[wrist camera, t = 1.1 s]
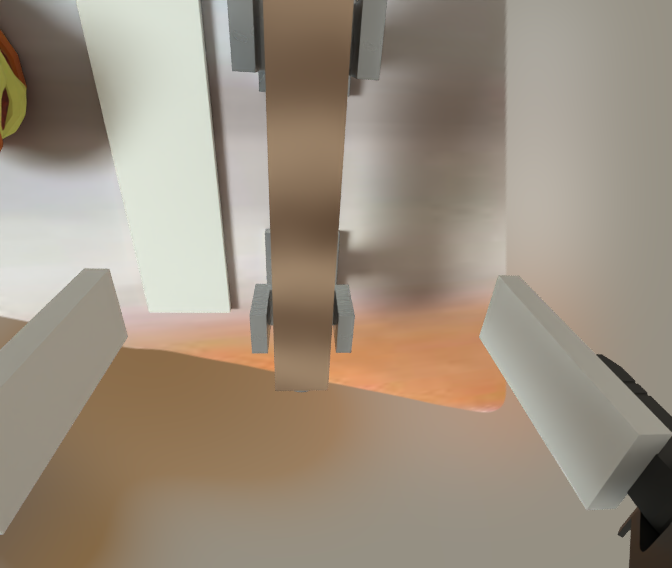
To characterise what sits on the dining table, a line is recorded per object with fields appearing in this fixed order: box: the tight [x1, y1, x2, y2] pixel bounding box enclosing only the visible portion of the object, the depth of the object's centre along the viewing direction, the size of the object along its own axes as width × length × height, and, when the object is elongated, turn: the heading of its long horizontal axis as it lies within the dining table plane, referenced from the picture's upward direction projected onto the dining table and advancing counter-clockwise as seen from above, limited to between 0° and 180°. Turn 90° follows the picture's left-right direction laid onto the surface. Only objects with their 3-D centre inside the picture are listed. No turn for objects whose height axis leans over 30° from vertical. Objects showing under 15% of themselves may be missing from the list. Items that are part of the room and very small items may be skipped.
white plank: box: [76, 0, 231, 313], centre depth 28 cm, size 26×7×1 cm, turn 177°
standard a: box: [250, 229, 355, 353], centre depth 29 cm, size 6×6×10 cm
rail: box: [263, 0, 354, 392], centre depth 21 cm, size 26×4×4 cm, turn 177°
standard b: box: [227, 0, 387, 97], centre depth 20 cm, size 6×6×10 cm
